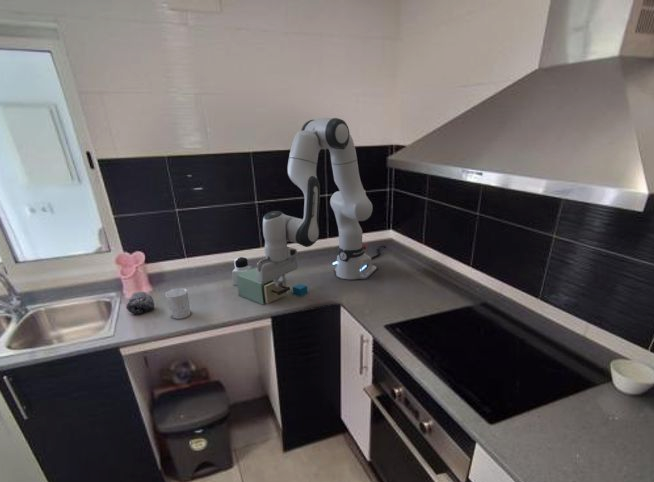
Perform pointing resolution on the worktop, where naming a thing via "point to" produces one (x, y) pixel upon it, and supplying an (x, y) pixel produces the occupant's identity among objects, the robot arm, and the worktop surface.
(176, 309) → the white cup
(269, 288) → the drawer with handle
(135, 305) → the pumice stone
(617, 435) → the worktop surface
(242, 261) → the astronaut figurine
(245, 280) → the drawer cabinet
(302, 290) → the blue cube
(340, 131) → the robot arm
